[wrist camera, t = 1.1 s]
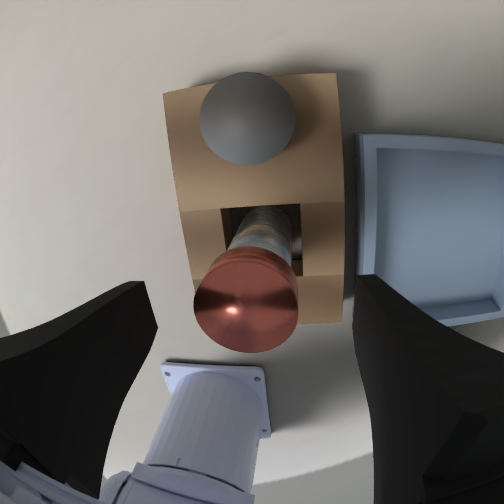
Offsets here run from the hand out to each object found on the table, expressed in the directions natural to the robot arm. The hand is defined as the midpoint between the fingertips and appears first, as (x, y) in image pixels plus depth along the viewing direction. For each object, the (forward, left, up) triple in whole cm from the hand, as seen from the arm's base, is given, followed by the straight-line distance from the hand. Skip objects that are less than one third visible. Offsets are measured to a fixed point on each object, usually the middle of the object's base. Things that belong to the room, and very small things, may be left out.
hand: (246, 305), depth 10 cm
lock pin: (0, 0, -8) cm, 8 cm away
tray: (-1, -10, -8) cm, 13 cm away
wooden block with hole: (+2, 0, -8) cm, 8 cm away
